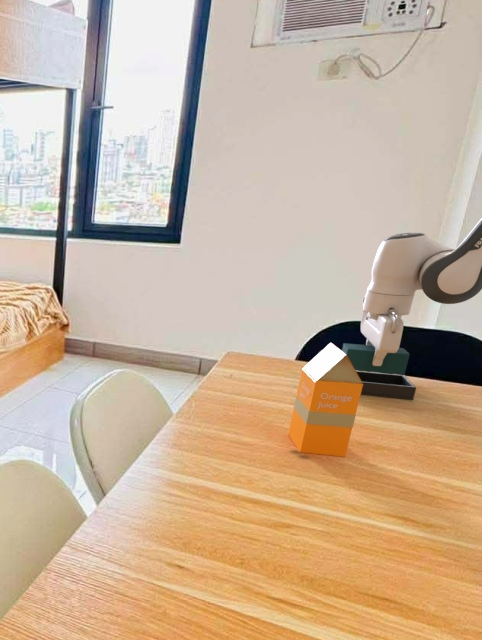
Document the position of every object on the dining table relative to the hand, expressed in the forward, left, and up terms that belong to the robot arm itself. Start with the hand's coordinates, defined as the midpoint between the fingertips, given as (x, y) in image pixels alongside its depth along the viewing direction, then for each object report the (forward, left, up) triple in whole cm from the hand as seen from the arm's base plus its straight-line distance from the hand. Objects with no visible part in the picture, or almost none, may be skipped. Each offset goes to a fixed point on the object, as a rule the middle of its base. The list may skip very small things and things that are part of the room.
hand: (372, 361), depth 150 cm
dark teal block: (0, 0, -2) cm, 2 cm away
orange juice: (+16, +42, -7) cm, 45 cm away
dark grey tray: (0, 0, -7) cm, 7 cm away
